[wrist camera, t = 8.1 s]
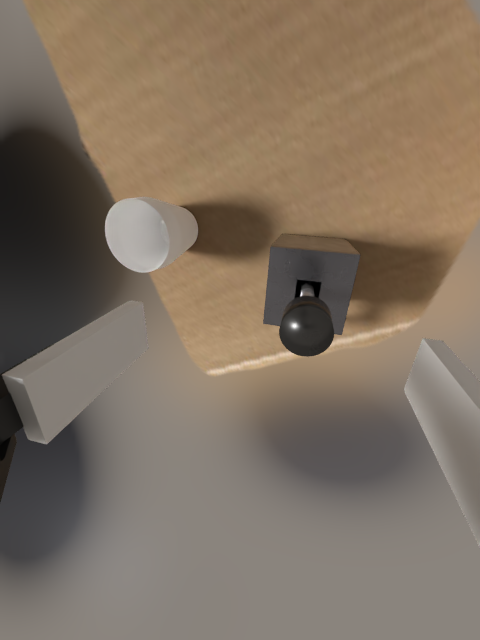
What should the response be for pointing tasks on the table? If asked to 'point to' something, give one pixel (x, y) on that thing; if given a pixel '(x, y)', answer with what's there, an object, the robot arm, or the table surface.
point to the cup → (149, 232)
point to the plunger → (306, 322)
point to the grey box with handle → (310, 274)
